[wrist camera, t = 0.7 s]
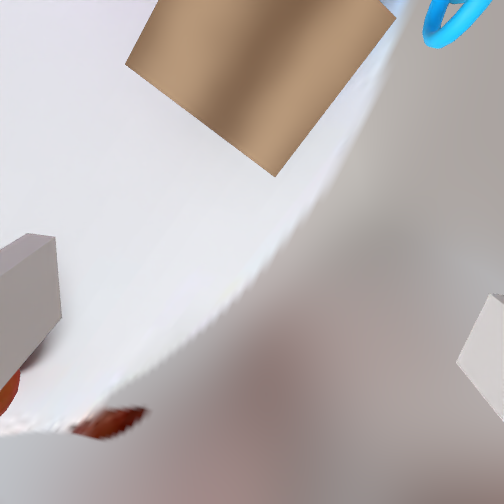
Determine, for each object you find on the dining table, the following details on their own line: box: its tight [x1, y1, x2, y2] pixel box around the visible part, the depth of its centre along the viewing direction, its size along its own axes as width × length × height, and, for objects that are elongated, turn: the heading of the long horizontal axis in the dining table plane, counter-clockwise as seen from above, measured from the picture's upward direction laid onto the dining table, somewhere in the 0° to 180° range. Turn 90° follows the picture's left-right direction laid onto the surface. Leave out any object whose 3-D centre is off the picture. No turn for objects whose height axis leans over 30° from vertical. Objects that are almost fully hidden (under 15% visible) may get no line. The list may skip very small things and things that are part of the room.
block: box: [125, 0, 396, 177], centre depth 21 cm, size 11×11×3 cm
